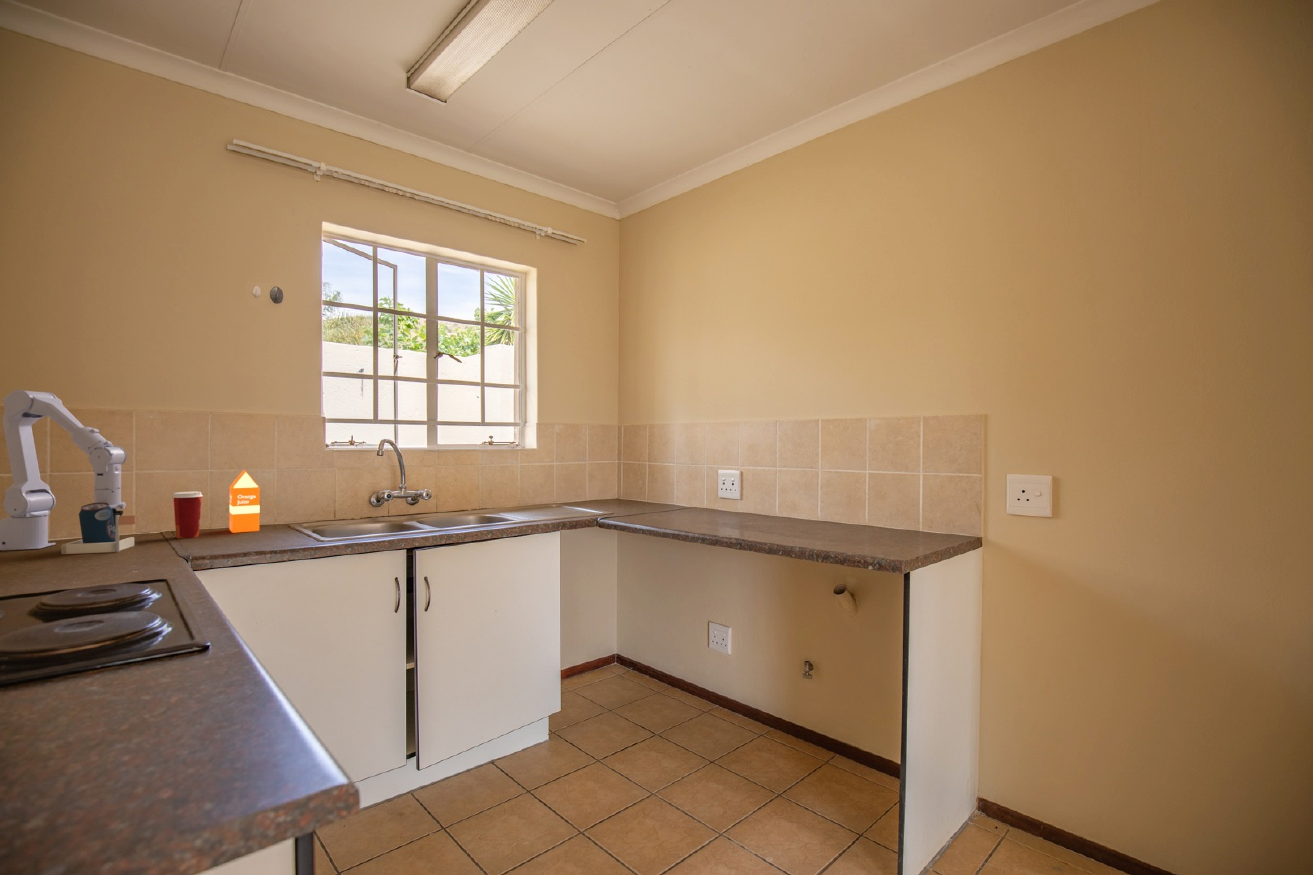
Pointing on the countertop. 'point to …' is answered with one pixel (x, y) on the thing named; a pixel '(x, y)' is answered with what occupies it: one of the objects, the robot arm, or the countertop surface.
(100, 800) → the countertop surface
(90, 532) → the soda can
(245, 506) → the orange juice
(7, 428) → the robot arm
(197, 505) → the paper cup
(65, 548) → the shallow cream tray
